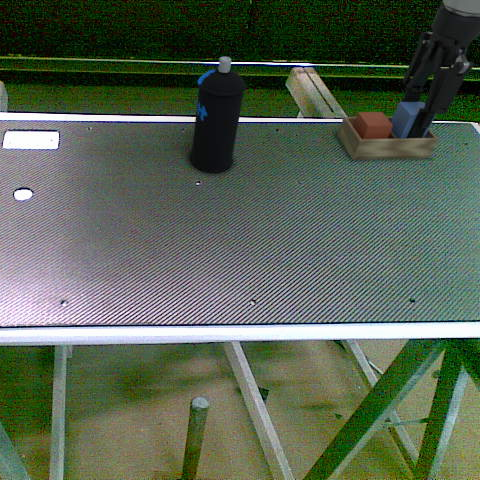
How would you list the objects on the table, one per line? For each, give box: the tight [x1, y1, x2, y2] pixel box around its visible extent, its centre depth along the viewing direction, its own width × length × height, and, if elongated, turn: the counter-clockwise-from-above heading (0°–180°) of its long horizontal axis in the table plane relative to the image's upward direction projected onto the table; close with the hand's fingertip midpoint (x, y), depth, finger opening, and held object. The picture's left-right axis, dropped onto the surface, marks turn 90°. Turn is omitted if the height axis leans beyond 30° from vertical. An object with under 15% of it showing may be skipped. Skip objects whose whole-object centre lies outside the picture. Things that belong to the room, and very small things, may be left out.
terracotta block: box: [353, 111, 393, 139], centre depth 94 cm, size 5×5×6 cm
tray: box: [336, 115, 440, 161], centre depth 95 cm, size 16×9×4 cm, turn 95°
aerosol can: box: [189, 55, 247, 174], centre depth 84 cm, size 8×8×20 cm
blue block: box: [391, 101, 437, 139], centre depth 93 cm, size 5×5×6 cm
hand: (406, 131), depth 95 cm, fingers closed on blue block, 5 cm apart
